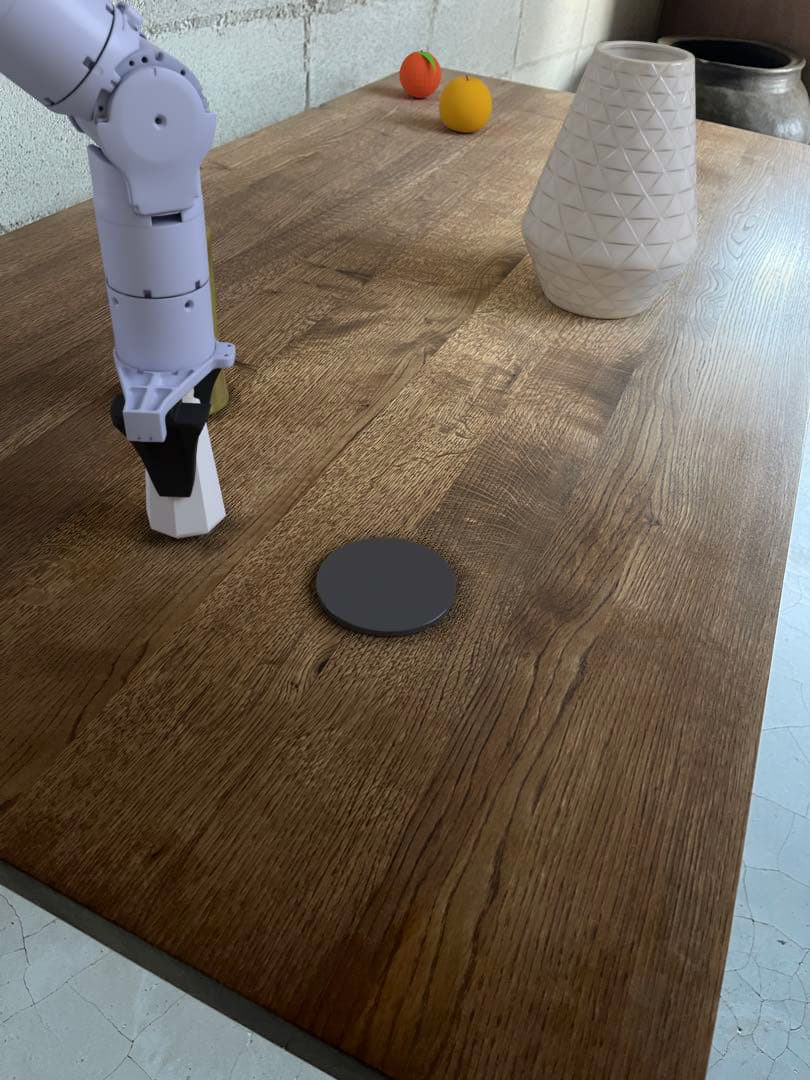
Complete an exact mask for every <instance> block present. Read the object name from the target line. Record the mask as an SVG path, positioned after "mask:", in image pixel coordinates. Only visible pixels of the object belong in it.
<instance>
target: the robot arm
mask: <svg viewBox="0 0 810 1080" xmlns="http://www.w3.org/2000/svg"><path fill="white" fill-rule="evenodd" d="M143 22H144V19H143V17H142V15H141V14H139V13H138V11H136V10H135V9H134V8H133V7H132V6H131V5H130V4H129V3H128V2H125V1H124V0H119V1H118V2H117V3H116V4H114V3H113V2H112V1H111V0H0V74H1V75H3V76H4V77H5V78H6V79H8V80H9V81H10V82H12V83H13V84H14V85H16V86H17V87H19V89H21V90H23V92H25V93H27V94H28V95H29V96H30V97H31V98H33V99H34V100H36V101H37V102H38V103H40V104H41V105H42V106H44V107H45V108H46V109H47V110H49V111H50V112H52V113H54V114H58V115H64V116H66V117H67V119H68V121H69V123H70V124H71V125H72V126H73V128H74V129H75V130H76V131H77V132H78V133H80V134H85V136H87V137H88V138H89V139H91V140H92V141H93V143H95V144H92V143H89V144H88V145H86V150H87V151H86V152H87V158H88V164H89V171H90V177H91V183H92V190H93V191H92V204H93V210H94V216H95V222H96V229H97V236H98V242H99V248H100V254H101V261H102V267H103V274H104V279H105V287H106V294H107V300H108V306H109V311H110V313H109V314H110V318H111V323H112V325H111V326H112V332H113V338H114V343H115V344H114V346H113V349H112V354H113V360H114V366H115V368H116V372H117V377H118V380H119V383H120V387H121V391H122V393H116V394H115V396H114V398H113V400H112V402H111V404H110V407H109V414H110V419H111V422H112V424H113V427H114V428H116V429H117V430H118V431H119V432H120V433H121V434H122V435H123V436H124V437H125V438H126V440H127V441H128V442H130V444H131V445H132V447H133V448H134V449H135V451H136V452H137V454H138V456H139V458H140V460H141V461H142V464H143V466H144V468H146V470H147V472H148V474H149V477H150V479H151V481H152V483H153V485H154V487H155V489H156V491H157V493H158V495H159V496H160V497H186V498H189V497H191V494H192V490H193V486H194V481H195V473H196V457H197V446H198V440H199V436H200V434H201V432H202V430H203V428H204V426H205V423H206V424H207V425H208V423H209V422H208V421H209V416H210V415H209V412H210V409H211V405H212V404H210V399H211V394H212V390H213V387H214V384H215V382H216V379H217V377H218V375H219V373H220V371H221V370H222V368H224V369H229V368H231V367H232V366H234V364H235V361H236V360H235V359H236V357H237V356H236V355H237V354H236V353H237V351H236V345H235V344H234V343H232V342H223V341H220V342H218V341H217V340H216V339H215V336H214V328H213V316H212V304H211V291H210V279H209V265H208V253H207V240H206V228H205V225H206V218H205V206H204V205H205V204H204V195H203V192H202V182H201V181H202V180H201V168H200V167H201V165H202V163H203V161H204V159H205V158H206V156H207V155H208V153H209V152H210V150H211V147H212V145H213V140H214V138H215V134H216V127H217V114H216V113H215V112H214V111H211V109H209V106H208V100H207V97H206V96H204V94H203V90H204V88H203V86H202V84H201V83H200V80H199V79H198V78H197V76H196V75H195V74H194V72H193V71H192V70H191V69H190V68H189V67H188V66H187V65H185V63H183V62H181V60H179V59H178V58H176V57H175V56H173V55H171V54H169V53H168V52H167V51H165V50H163V49H162V48H160V47H159V46H158V45H155V44H154V43H152V42H151V41H150V40H148V37H147V36H146V34H145V33H144V32H143V31H141V30H139V29H140V28H141V27H142V25H143ZM192 388H194V394H193V396H194V398H197V399H199V401H200V403H183V402H182V398H183V397H184V396H185V395H186V394H187V393H188V392H189V391H190V390H191V389H192Z"/></svg>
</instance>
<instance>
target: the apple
mask: <svg viewBox="0 0 810 1080" xmlns="http://www.w3.org/2000/svg"><path fill="white" fill-rule="evenodd" d="M491 95H492V94H491V92H490V90H489V88H488V86H487V85H486V84H485V83H484V81H482V80H481V79H479V78H477V77H473V76H468V75H465V76H457V77H455V78H453V79H452V80H450V81H449V82H447V84H446V85H445V87H444V88H443V90H442V91H441V94H440V97H439V103H438V112H439V117H440V119H441V121H442V123H443V124H444V126H446V128H448V129H449V130H451V131H454V132H457V133H467V134H469V133H475V132H478V131H479V130H482V129H483V128H484V127H485V126H486V125H487V123H488V122H489V119H490V117H491V114H492V111H493V110H492V109H493V104H492V103H493V101H492V96H491Z"/></svg>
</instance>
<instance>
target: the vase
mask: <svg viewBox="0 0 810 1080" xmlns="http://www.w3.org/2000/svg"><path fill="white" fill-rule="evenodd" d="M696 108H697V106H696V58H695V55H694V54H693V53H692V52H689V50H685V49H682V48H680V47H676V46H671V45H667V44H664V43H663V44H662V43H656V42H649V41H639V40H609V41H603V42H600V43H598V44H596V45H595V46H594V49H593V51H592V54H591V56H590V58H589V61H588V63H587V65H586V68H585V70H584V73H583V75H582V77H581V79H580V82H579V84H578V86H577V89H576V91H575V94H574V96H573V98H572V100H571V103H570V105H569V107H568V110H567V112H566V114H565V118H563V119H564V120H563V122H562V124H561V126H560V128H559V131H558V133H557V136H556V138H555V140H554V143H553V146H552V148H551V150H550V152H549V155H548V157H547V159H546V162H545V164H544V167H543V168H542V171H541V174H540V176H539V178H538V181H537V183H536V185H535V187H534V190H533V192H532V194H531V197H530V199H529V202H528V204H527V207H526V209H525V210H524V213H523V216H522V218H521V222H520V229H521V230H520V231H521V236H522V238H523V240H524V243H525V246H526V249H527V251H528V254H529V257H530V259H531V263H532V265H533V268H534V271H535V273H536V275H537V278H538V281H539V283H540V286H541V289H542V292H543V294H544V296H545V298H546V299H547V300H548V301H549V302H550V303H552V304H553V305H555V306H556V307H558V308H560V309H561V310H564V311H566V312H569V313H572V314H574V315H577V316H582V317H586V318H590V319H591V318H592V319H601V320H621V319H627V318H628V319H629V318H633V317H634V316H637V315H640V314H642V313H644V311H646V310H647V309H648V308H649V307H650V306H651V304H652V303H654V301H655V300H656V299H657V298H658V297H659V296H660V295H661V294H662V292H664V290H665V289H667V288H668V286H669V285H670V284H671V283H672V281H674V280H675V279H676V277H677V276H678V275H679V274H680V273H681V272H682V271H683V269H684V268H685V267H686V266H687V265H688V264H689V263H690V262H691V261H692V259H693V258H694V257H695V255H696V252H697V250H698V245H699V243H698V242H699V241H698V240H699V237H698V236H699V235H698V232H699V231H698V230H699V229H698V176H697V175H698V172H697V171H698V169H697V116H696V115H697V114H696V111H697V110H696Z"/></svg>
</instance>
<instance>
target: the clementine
mask: <svg viewBox="0 0 810 1080" xmlns="http://www.w3.org/2000/svg"><path fill="white" fill-rule="evenodd" d="M398 75H399V77H398V78H399V82H400V85H401V87H402V88H403V90H404V92H405V93H406V94H408V96H410V97H413V98H415V99H424V98H428V97H430V96H431V95H433V94H434V93H436V91H437V89H438V88H439V86H440V85H441V84H440V83H441V79H442V69H441V65H440V63H439V61H438V59H437V58H436V57H435V56H434V55H433V54H432V53H430V52H428V51H424V50H423V49H421V50H420V51H419V50H418V51H414V52H413V51H412V52H411V53H409V54H408V55H407V56H406V57H405V58H404V60H403V61H402V62H401V65H400V68H399V72H398Z"/></svg>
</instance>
